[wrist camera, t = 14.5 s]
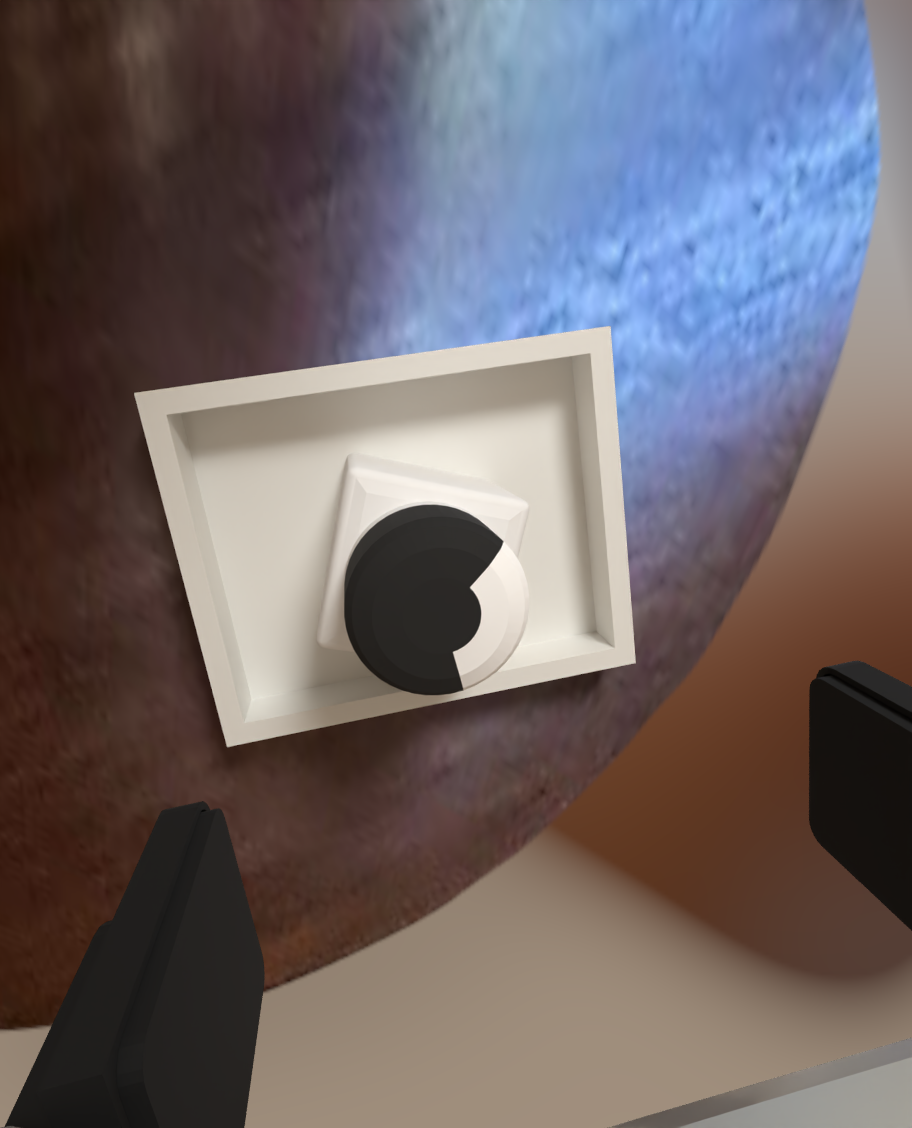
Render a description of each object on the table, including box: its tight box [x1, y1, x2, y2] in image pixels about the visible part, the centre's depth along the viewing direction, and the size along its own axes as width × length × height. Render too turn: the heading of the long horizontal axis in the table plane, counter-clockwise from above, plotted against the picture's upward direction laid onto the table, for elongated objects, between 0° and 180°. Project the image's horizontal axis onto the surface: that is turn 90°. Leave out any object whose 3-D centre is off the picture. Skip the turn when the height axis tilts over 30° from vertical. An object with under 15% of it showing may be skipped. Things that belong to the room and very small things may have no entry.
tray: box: [134, 326, 636, 747], centre depth 31 cm, size 16×20×3 cm
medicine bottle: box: [317, 453, 529, 695], centre depth 26 cm, size 7×7×12 cm
